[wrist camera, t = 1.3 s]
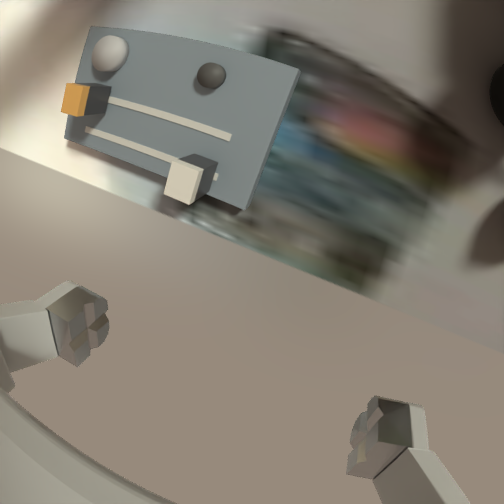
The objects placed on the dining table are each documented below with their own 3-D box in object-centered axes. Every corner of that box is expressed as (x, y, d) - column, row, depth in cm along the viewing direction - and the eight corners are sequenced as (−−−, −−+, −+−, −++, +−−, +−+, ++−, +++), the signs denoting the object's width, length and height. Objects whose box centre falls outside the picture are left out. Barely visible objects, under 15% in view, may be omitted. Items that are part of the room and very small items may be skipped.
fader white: (186, 182, 30) (163, 193, 26) (194, 153, 29) (172, 160, 25) (209, 191, 30) (189, 204, 26) (218, 162, 28) (199, 171, 24)
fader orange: (89, 108, 29) (60, 111, 25) (95, 82, 28) (66, 83, 24) (105, 113, 29) (76, 116, 25) (111, 86, 28) (83, 86, 24)
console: (75, 136, 34) (55, 140, 30) (101, 28, 27) (82, 24, 24) (249, 204, 32) (240, 215, 29) (301, 72, 25) (296, 66, 22)
